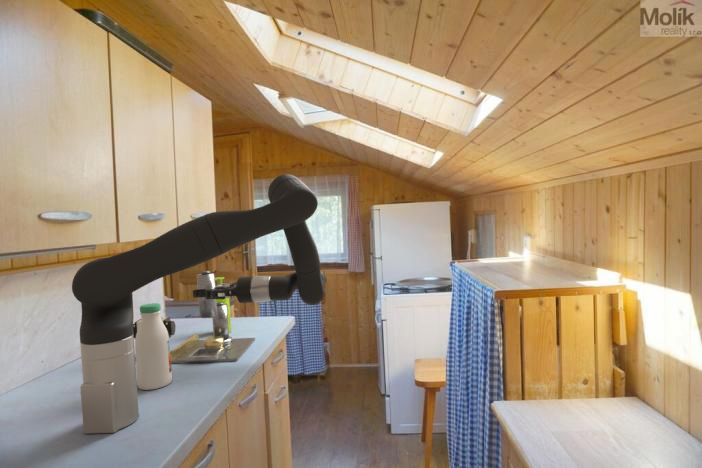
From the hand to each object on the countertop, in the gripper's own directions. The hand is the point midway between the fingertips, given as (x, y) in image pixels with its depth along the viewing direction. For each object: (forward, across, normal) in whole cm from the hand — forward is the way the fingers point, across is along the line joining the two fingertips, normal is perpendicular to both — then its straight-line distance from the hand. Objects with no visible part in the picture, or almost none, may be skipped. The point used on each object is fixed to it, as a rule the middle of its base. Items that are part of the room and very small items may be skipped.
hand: (197, 291), depth 119 cm
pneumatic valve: (+17, -6, +20) cm, 27 cm away
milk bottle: (+5, +17, +20) cm, 27 cm away
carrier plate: (-1, -8, +20) cm, 21 cm away
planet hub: (-3, 0, +7) cm, 7 cm away
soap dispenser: (+5, -29, +20) cm, 35 cm away
